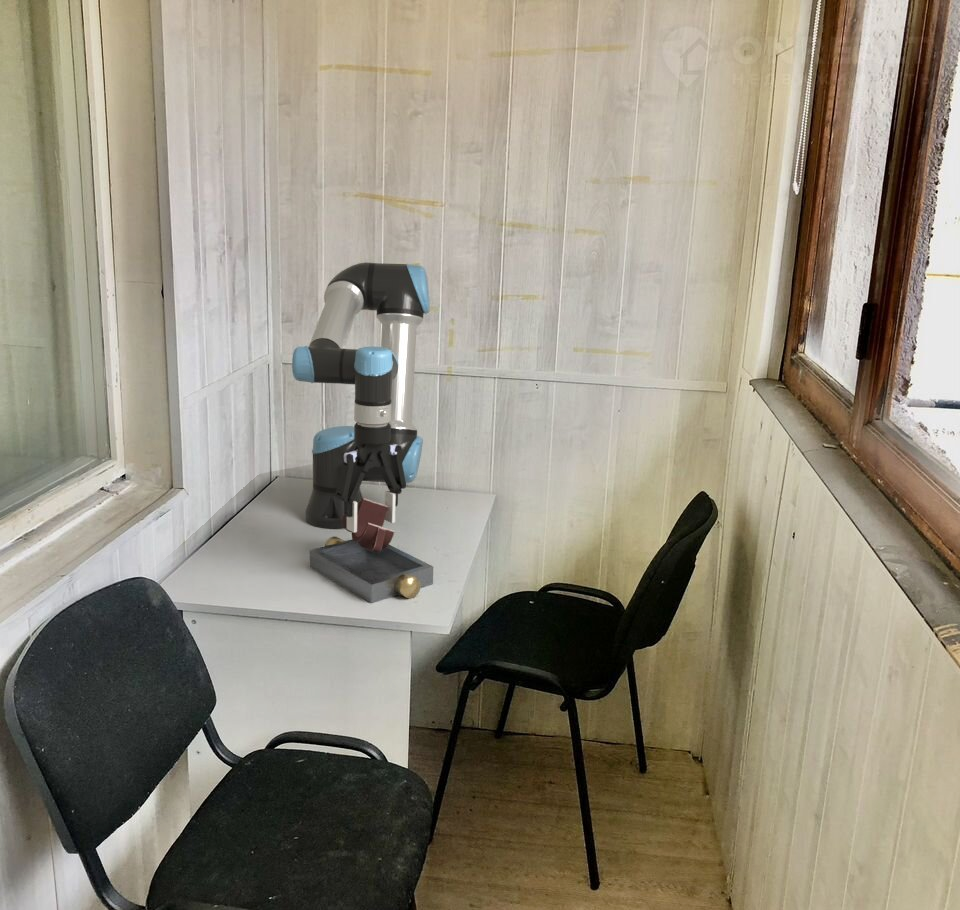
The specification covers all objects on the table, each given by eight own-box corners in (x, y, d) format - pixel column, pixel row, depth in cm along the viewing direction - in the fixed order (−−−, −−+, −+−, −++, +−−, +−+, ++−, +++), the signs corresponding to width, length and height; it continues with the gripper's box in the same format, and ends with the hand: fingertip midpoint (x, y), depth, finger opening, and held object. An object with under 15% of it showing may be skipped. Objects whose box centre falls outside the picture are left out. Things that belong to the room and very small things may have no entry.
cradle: (302, 562, 203) (302, 544, 202) (361, 547, 214) (362, 529, 213) (380, 608, 183) (380, 587, 182) (441, 588, 193) (442, 569, 192)
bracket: (363, 548, 186) (378, 501, 187) (334, 537, 201) (348, 494, 202) (389, 556, 189) (404, 509, 190) (359, 545, 204) (373, 502, 205)
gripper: (338, 433, 179) (337, 541, 185) (425, 420, 194) (422, 520, 200) (317, 425, 185) (317, 531, 191) (403, 413, 199) (401, 511, 205)
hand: (371, 525), depth 195 cm, fingers closed on bracket, 9 cm apart
